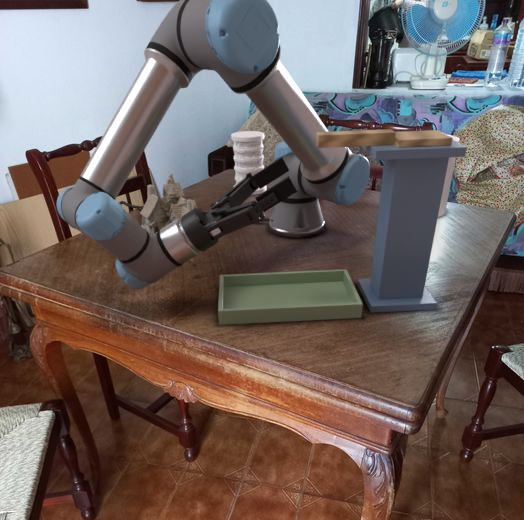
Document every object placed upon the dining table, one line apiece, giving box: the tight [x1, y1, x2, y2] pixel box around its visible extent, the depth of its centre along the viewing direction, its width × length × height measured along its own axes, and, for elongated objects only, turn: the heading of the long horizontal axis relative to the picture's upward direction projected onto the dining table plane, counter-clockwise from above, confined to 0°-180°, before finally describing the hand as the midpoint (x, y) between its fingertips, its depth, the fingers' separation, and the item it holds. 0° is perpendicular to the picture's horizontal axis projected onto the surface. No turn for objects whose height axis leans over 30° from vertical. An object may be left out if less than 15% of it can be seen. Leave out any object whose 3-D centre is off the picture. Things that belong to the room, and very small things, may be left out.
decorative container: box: [230, 130, 268, 196], centre depth 158 cm, size 12×12×18 cm
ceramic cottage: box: [139, 173, 198, 236], centre depth 127 cm, size 16×16×15 cm
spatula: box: [316, 128, 453, 148], centre depth 80 cm, size 22×7×2 cm, turn 93°
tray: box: [217, 268, 364, 326], centre depth 96 cm, size 28×16×3 cm, turn 93°
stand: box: [356, 140, 468, 314], centre depth 89 cm, size 15×12×30 cm
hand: (289, 172), depth 83 cm, fingers open, 13 cm apart
